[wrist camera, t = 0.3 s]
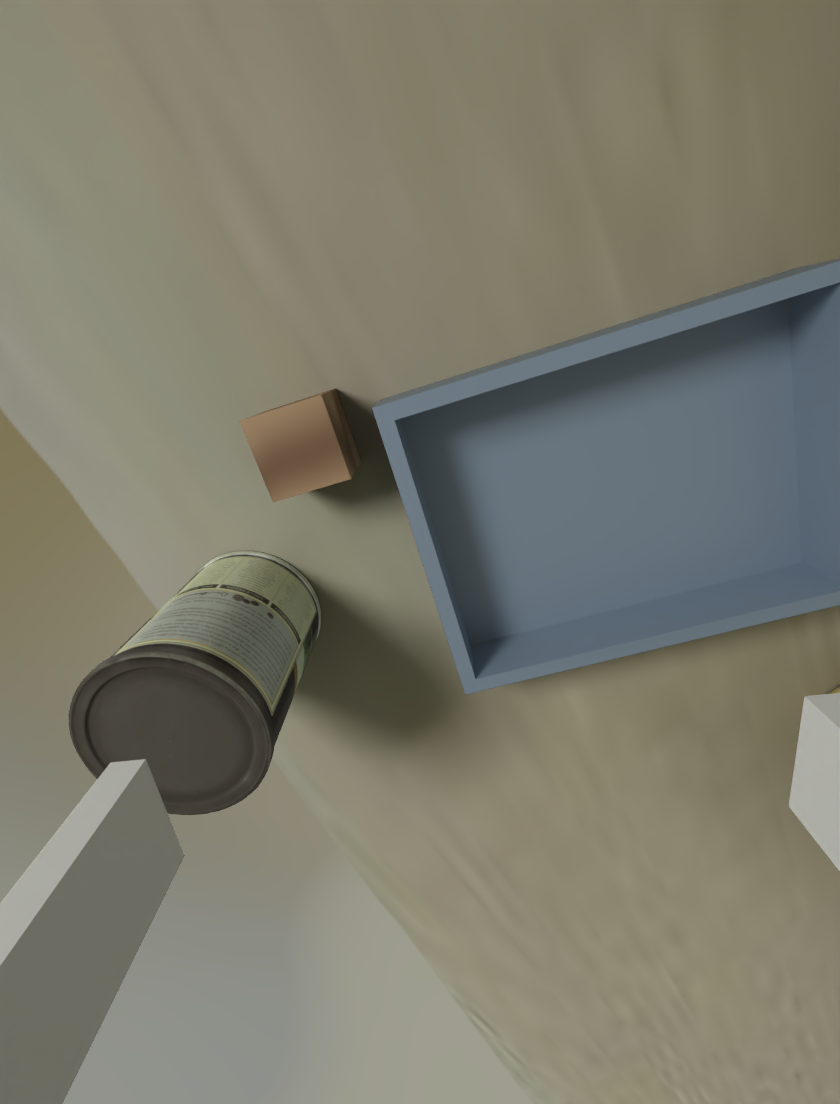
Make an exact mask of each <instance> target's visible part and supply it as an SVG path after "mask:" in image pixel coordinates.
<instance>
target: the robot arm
mask: <svg viewBox="0 0 840 1104" xmlns="http://www.w3.org/2000/svg"><path fill="white" fill-rule="evenodd" d="M789 807H790V809H791V810H792V811H793V812H794V814H795V815H796V816H797V817H798V819H799V820H800V821H801V823H802V824H803V825H804V826H805V828H806V829H807V830H808V831H809V833H810V834H811V835H812V837H813V838H814V839H815V840H816V842H817V843H818V844H819V845H820V847H821V848H822V849H823V850H824V852H825V853H826V854H827V856H828V857H829V858H830V859H831V861H832V862H833V863H834V864H835V866H836V867H837V868H838V870H839V871H840V693H833V694H822V695H812V696H805V697H804V704H803V711H802V718H801V724H800V731H799V738H798V745H797V752H796V759H795V766H794V773H793V779H792V786H791V793H790V800H789ZM183 858H184V854H183V851H182V849H181V847H180V844H179V841H178V839H177V836H176V834H175V831H174V829H173V826H172V823H171V821H170V818H169V816H168V813H167V811H166V808H165V806H164V803H163V801H162V798H161V796H160V793H159V791H158V788H157V786H156V783H155V781H154V778H153V776H152V773H151V771H150V768H149V766H148V763H147V761H146V759H142V760H131V761H121V762H111V763H110V764H109V765H108V766H107V768H106V769H105V770H104V772H103V773H102V774H101V775H100V777H99V778H98V779H97V781H96V782H95V783H94V784H93V786H92V787H91V788H90V789H89V791H88V792H87V793H86V795H85V796H84V797H83V798H82V800H81V801H80V802H79V804H78V805H77V806H76V807H75V809H74V810H73V811H72V812H71V814H70V815H69V816H68V817H67V819H66V820H65V821H64V823H63V824H62V825H61V826H60V828H59V829H58V830H57V831H56V833H55V834H54V835H53V837H52V838H51V839H50V840H49V842H48V843H47V844H46V845H45V847H44V848H43V849H42V851H41V852H40V853H39V854H38V856H37V857H36V858H35V860H34V861H33V862H32V863H31V865H30V866H29V867H28V868H27V870H26V871H25V872H24V874H23V875H22V876H21V878H20V879H19V880H18V881H17V882H16V884H15V885H14V886H13V888H12V889H11V890H10V891H9V893H8V894H7V895H6V897H5V898H4V899H3V900H2V902H1V903H0V1104H62V1103H63V1101H64V1099H65V1097H66V1095H67V1093H68V1091H69V1089H70V1087H71V1085H72V1083H73V1081H74V1079H75V1077H76V1075H77V1073H78V1071H79V1069H80V1067H81V1065H82V1062H83V1061H84V1058H85V1056H86V1054H87V1053H88V1050H89V1048H90V1046H91V1044H92V1042H93V1040H94V1038H95V1036H96V1034H97V1032H98V1030H99V1028H100V1026H101V1024H102V1022H103V1020H104V1018H105V1016H106V1014H107V1012H108V1010H109V1008H110V1006H111V1004H112V1002H113V1000H114V998H115V996H116V993H117V992H118V990H119V987H120V985H121V983H122V981H123V979H124V977H125V975H126V973H127V971H128V969H129V967H130V965H131V963H132V961H133V959H134V957H135V955H136V953H137V951H138V949H139V947H140V945H141V943H142V941H143V939H144V937H145V935H146V933H147V931H148V929H149V926H150V925H151V922H152V920H153V919H154V916H155V914H156V912H157V910H158V908H159V906H160V904H161V902H162V900H163V898H164V896H165V894H166V892H167V890H168V888H169V886H170V884H171V882H172V880H173V878H174V876H175V874H176V872H177V870H178V868H179V866H180V864H181V861H182V859H183Z"/></svg>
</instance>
